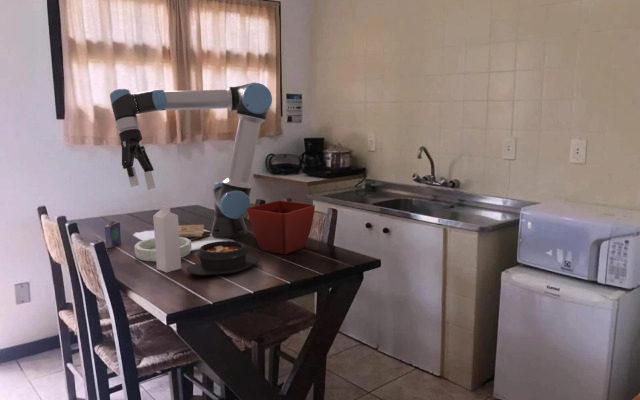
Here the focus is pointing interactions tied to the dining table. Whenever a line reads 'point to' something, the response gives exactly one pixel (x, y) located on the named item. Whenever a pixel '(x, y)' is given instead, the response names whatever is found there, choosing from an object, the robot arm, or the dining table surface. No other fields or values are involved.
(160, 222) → the milk
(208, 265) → the casserole
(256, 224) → the plant pot
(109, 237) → the flask
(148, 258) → the bowl
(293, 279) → the dining table surface
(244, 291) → the dining table surface
